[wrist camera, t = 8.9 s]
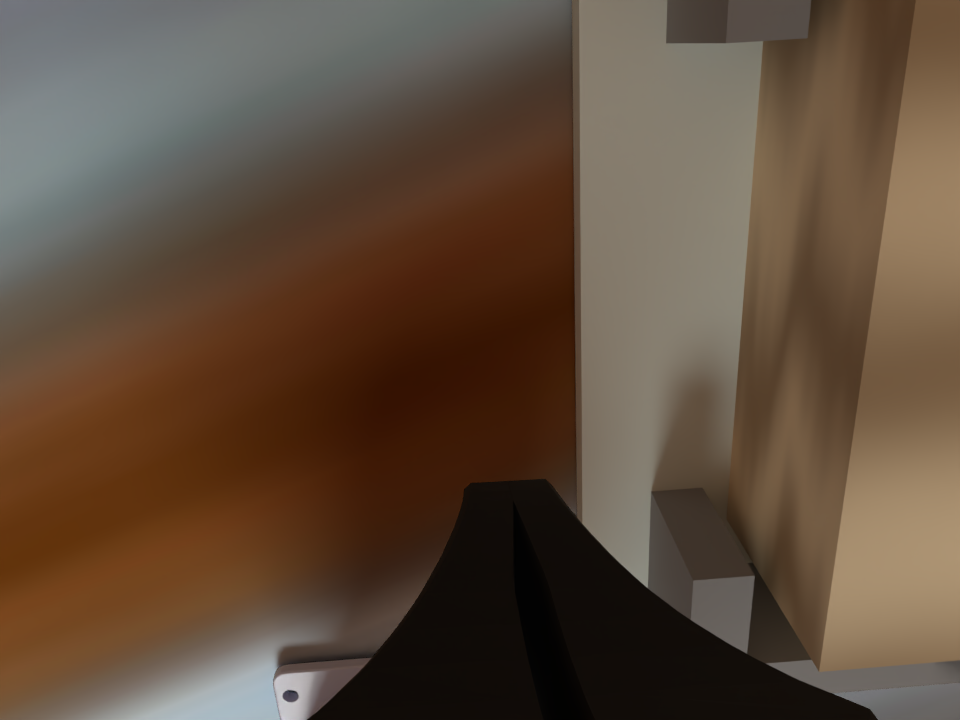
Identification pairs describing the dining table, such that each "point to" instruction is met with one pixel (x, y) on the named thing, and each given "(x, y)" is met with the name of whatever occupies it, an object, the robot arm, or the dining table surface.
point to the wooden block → (855, 335)
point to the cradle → (676, 307)
